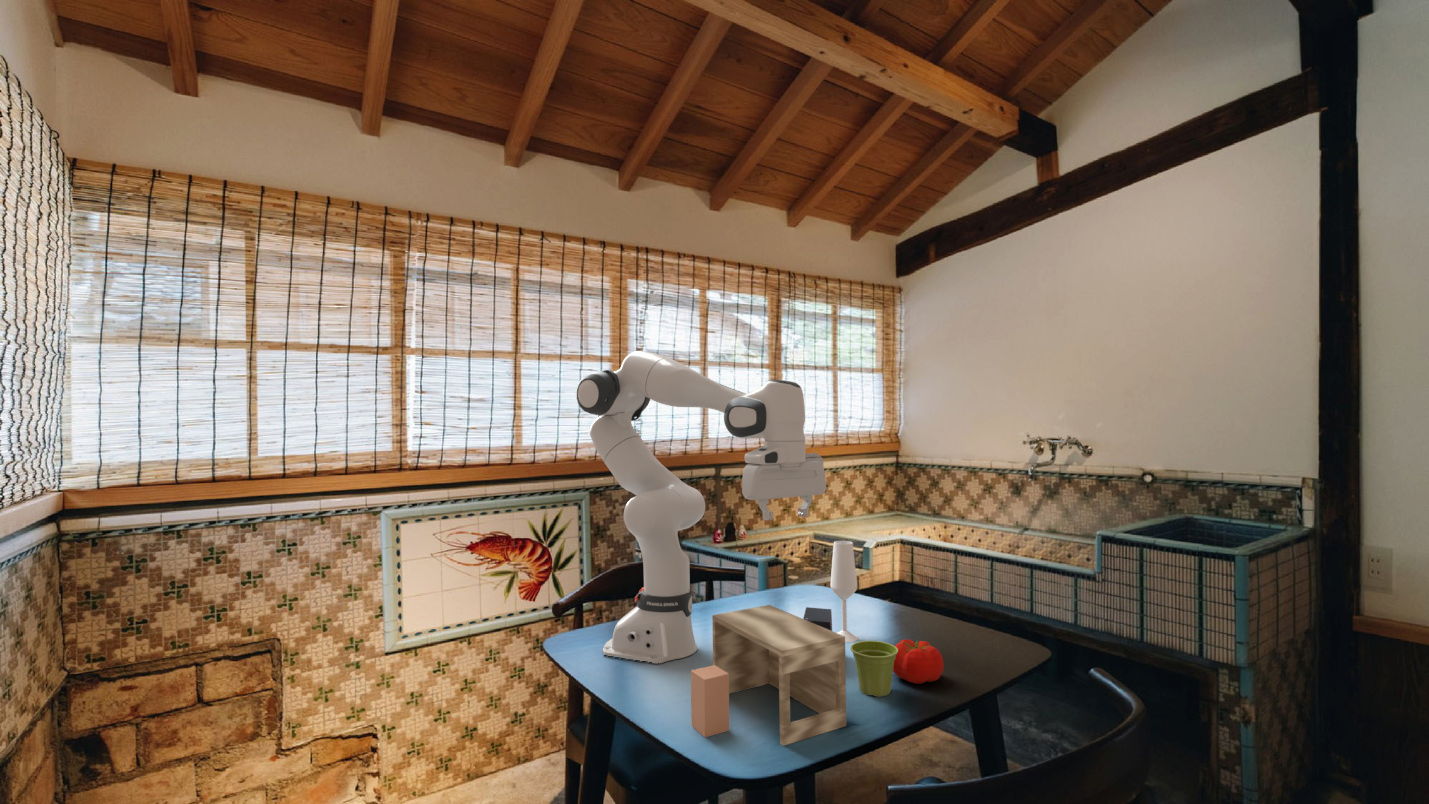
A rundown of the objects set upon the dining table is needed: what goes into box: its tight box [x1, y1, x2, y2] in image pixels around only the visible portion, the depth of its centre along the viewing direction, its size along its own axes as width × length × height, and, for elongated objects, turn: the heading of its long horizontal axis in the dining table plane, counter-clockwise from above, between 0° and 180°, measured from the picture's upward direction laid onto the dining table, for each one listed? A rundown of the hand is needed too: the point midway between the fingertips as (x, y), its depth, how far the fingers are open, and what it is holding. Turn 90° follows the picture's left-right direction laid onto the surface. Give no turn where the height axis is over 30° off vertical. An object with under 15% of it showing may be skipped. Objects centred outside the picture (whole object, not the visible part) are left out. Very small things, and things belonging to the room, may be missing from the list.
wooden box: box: [711, 604, 847, 746], centre depth 126 cm, size 14×24×16 cm, turn 30°
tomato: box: [893, 638, 945, 685], centre depth 140 cm, size 11×11×8 cm
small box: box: [802, 606, 833, 631], centre depth 152 cm, size 11×6×10 cm, turn 168°
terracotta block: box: [690, 664, 730, 738], centre depth 119 cm, size 5×5×10 cm
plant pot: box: [849, 640, 898, 698], centre depth 134 cm, size 9×9×9 cm
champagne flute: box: [830, 540, 859, 643], centre depth 167 cm, size 7×7×24 cm
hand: (785, 518), depth 142 cm, fingers open, 8 cm apart
